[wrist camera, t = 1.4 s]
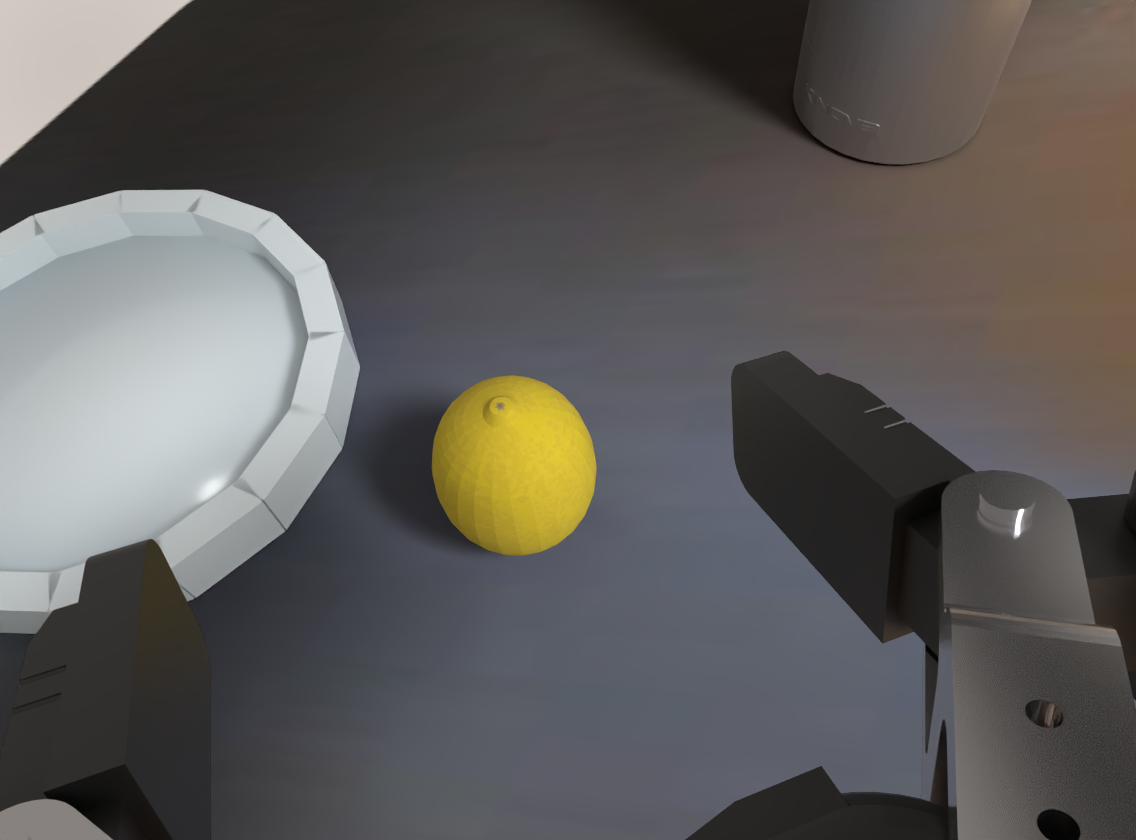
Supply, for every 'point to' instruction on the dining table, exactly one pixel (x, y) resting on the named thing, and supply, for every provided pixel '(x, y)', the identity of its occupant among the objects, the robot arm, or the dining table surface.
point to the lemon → (513, 465)
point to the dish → (160, 389)
